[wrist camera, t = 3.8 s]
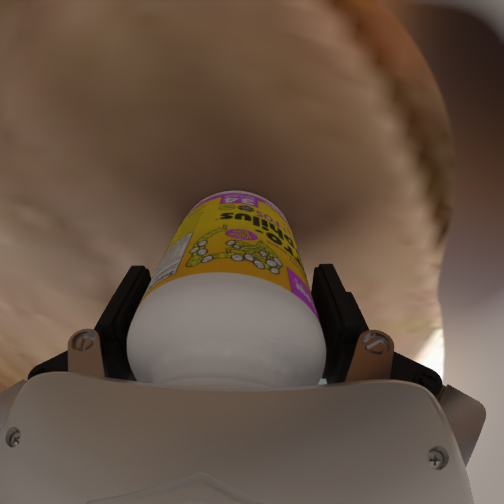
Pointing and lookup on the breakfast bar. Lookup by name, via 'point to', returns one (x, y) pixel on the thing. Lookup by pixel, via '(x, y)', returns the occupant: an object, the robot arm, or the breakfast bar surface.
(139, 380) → the supplement bottle
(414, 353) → the breakfast bar surface
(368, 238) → the breakfast bar surface
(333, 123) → the breakfast bar surface
